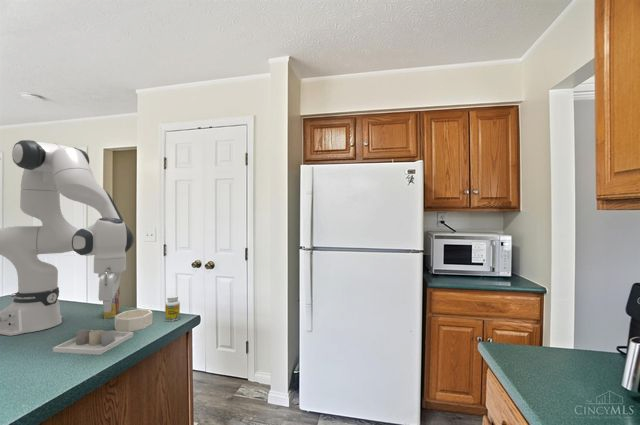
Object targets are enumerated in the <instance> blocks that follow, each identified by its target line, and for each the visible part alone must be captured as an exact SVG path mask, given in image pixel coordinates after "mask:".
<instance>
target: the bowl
mask: <svg viewBox="0 0 640 425" xmlns="http://www.w3.org/2000/svg"><path fill="white" fill-rule="evenodd" d="M151 325H153V311H152V310H151V309H145V308H144V309H143V308H137V309H131V310H127V311H126V310H125V311H122V312H121V313H120V312H119V313H118V314H117V315H115V318H114V330H115V331H120V332H133V331H139V330H143V329H146V328H147V327H149V326H151Z"/></svg>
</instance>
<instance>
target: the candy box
mask: <svg viewBox="0 0 640 425" xmlns="http://www.w3.org/2000/svg"><path fill="white" fill-rule="evenodd" d="M120 299H121V298H120V287H119V288H118V290H117V291H116V294H115V302H114V304H113V305H111V311H110V312H104V311H103V319H104V320H106V319H115V315H117V314H120V311H121V309H120V308H121V307H120V306H121V300H120Z"/></svg>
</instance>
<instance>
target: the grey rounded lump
mask: <svg viewBox="0 0 640 425" xmlns="http://www.w3.org/2000/svg"><path fill="white" fill-rule="evenodd" d="M103 331H104V332H103V333H102V346H103V347H105V346H107V345H109V344H111V343H113V342H114V341H115V331H116V330H115V329H109V330H103Z"/></svg>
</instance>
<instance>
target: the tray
mask: <svg viewBox="0 0 640 425" xmlns="http://www.w3.org/2000/svg"><path fill="white" fill-rule="evenodd" d="M93 330H94V329H93ZM93 330H92V329H90V332H91V331H93ZM104 331H105V330H103V332H104ZM133 337H134V332H133V331H130V332H124V331H116V330H115V341H114V342H113V343H111V344H109V345H107V346H105V347H103V346H102V343H101V344H99V345H96V346H89V343H87V344H84V345H76V336H75V337H73V338H71V339H69V340H66V341H65V342H63V343H60V344H58V345H56V346H54V347H52V353H62V354H77V355H78V354H81V355H94V356H95V355H98V356H100V355H104V354H105V353H106V352H108V351H110V350H112V349H113V348H116V347H117V346H119V345H121V344H122V343H124V342H126V341H127V340H129V339H130V338H133Z"/></svg>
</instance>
